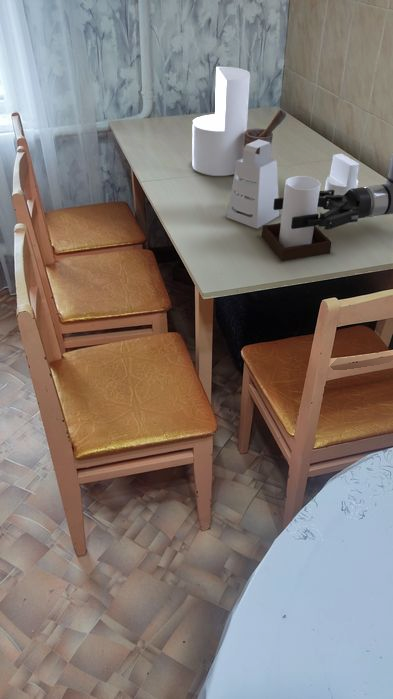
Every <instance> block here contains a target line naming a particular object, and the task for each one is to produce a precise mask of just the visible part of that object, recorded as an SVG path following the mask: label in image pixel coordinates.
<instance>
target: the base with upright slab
mask: <svg viewBox="0 0 393 699" xmlns="http://www.w3.org/2000/svg"><path fill="white" fill-rule="evenodd" d="M359 169H360V163H359V162H357V161H355V160H353V159H352V158H350V157H348V156H347V155H345V154H343V153H337V154H333V155H332V159H331V165H330V172H329V175H327V177H326V180H325V185H324V186H325V187H324V191H327V190H334V194H335V195H345V194H346V192H347V191H348V190H349V189H353V188H359V187H358V186H359V180H358V175H359V174H358V173H359ZM327 204H328V201H327Z"/></svg>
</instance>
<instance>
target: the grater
mask: <svg viewBox="0 0 393 699" xmlns="http://www.w3.org/2000/svg"><path fill="white" fill-rule="evenodd" d="M259 147H260V155H259V154H255V153H256V150H257V148H259ZM272 149H273V145H271V143H270V142H267V141H263V140H260V139H258V140H256V141H254V142H251V143H249V144H247V145H246V146H245V148H244V150H243V158H242V159H240V160H238V161H237V164H236V169H235V174H233V175H234V176H233V180H232V185H231V190H230V195H229V201H228V205H227V210H226V215H225V217H226V218H227V219H229V220H233V221H236V222H238V223H241V224H243V225H246V226H249V227H250V228H251V227H252V228H254V229H259V228H262V226H263V225H267V223H269V222H271V221H273V220H274V219H276V218H277V217H279V216H280V210H274V209H273V207H274V199H276V198H279V183H278V182H279V179H278V160H277V159H276V158H272V152H273V151H272ZM238 212H241V213H243V214H241V213H238ZM245 214H246V215H245ZM247 215H250V216H247ZM251 215H252V216H251Z"/></svg>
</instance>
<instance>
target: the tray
mask: <svg viewBox="0 0 393 699" xmlns="http://www.w3.org/2000/svg"><path fill="white" fill-rule="evenodd" d="M280 227H281V222H277V223H271V224H270V223H269V224H264V225H262V226H261V235H260V236H261V239H262V241H264V243H266V245H267V246H268V247H269V248H270V250H271V252H273V254H274V255H275V256H276V257H277V258H278V259H279V260H280V261H281V262H287V261H294V260H299V259H300V260H301V259H306V258H312V257H318V256H325V255H330V254H331V249H332V244H333V242H332V240H331V239H330V238H328V236H326V235H325V234H324V232H323V231H321V230H320V228H318V226H314V231H313V237H312V244H306V245H299V246H293V247H286V248H284V246H283V245H282V244H281V243H280V242H279V236H280Z"/></svg>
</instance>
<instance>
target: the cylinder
mask: <svg viewBox="0 0 393 699" xmlns="http://www.w3.org/2000/svg"><path fill="white" fill-rule="evenodd" d="M215 70H216V71H215V109H214V113H213V114H211V113H210V114H204V115H201V116H197V117H195V118H194V119H193V120H192V125H191V126H192V127H191V128H192V132H191V133H192V138H191V142H192V145H191V146H192V147H191V148H192V150H191V151H192V153H191V156H192V157H191V160H192V162H191V163H192V167H191V168H192V169H193V170H194V171H196V172H197V173H200V174H202V175H205V176H206V175H207V176H213V177H214V176H215V177H225V176H232V175H234V174H235V169H236V164H237V161H238V160H240V159H242V158H243V150H244V142H245V141H244V139H245V131H246V130H248V115H249V100H250V99H249V98H250V86H251V85H250V83H251V72H250V71H248V70H246V69H244V68H240V67H235V66H220V65H219V66H216V68H215Z"/></svg>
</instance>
